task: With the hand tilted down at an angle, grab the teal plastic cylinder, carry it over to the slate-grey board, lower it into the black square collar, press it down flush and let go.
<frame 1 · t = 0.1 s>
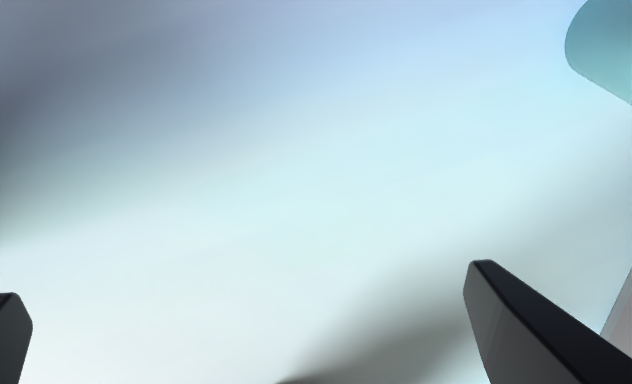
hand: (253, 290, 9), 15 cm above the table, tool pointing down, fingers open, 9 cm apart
teal cylinder: (610, 32, 22), on the table
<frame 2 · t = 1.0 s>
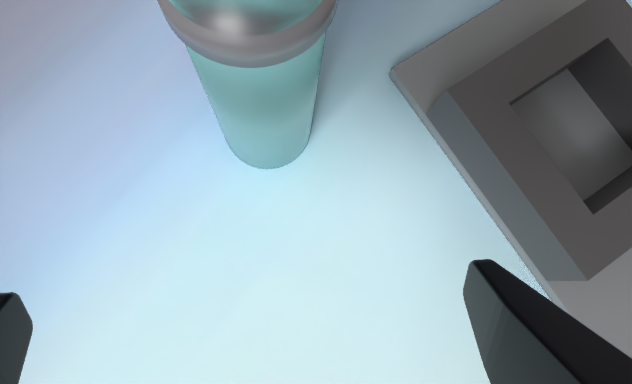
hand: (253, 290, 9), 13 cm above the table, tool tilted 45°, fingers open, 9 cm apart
teal cylinder: (267, 127, 24), on the table
holder board: (612, 199, 24), on the table
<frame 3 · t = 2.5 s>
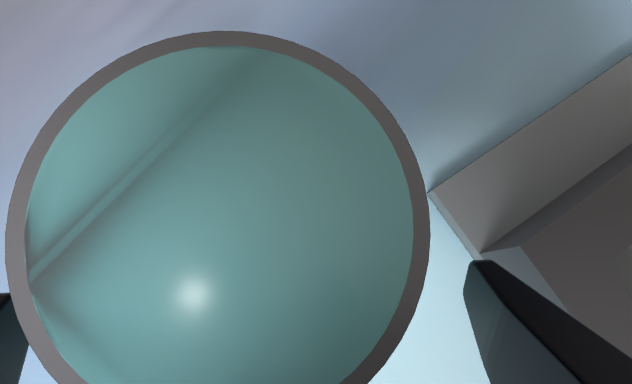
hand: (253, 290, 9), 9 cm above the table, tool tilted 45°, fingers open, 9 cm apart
teal cylinder: (268, 270, 18), on the table
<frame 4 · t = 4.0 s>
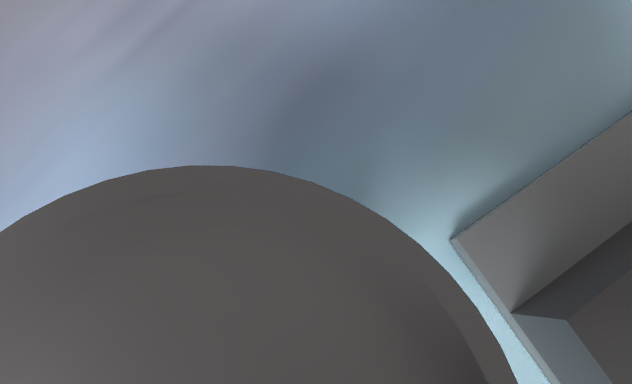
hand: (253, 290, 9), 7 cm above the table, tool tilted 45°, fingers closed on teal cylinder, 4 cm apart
teal cylinder: (269, 330, 16), on the table, touching gripper
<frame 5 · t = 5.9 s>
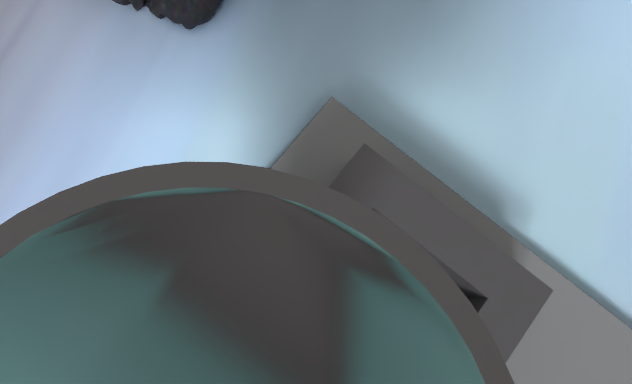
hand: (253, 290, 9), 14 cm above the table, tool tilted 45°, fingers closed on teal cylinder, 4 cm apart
teal cylinder: (268, 329, 16), point 7 cm above the table, touching gripper
holder board: (447, 341, 23), on the table
when the fingers open (8 cm above the table, at t = 8.2 s): teal cylinder stays where it is, resting on holder board.
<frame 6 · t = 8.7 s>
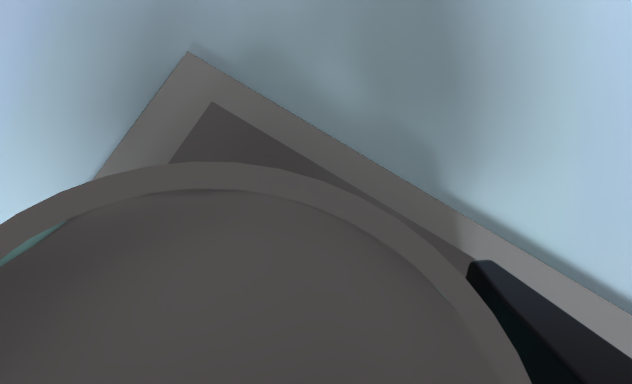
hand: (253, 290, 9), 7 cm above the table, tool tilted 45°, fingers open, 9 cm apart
teal cylinder: (268, 334, 16), point 1 cm above the table, touching holder board
holder board: (382, 365, 16), on the table
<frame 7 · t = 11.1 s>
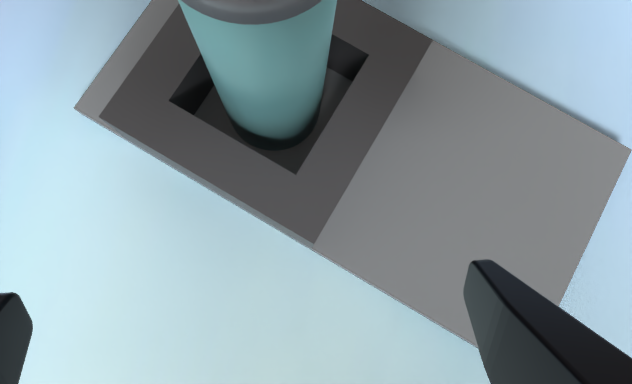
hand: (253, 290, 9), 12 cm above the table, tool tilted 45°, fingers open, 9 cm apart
teal cylinder: (274, 106, 22), point 1 cm above the table, touching holder board
holder board: (355, 134, 23), on the table
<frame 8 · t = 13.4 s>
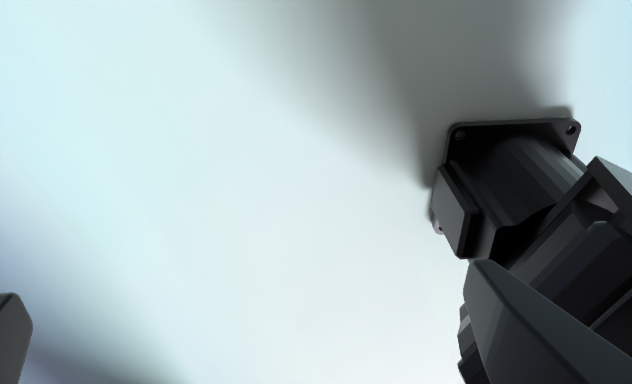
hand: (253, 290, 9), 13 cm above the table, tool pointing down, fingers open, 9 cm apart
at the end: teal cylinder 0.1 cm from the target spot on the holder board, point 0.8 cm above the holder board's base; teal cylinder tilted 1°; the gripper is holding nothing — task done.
